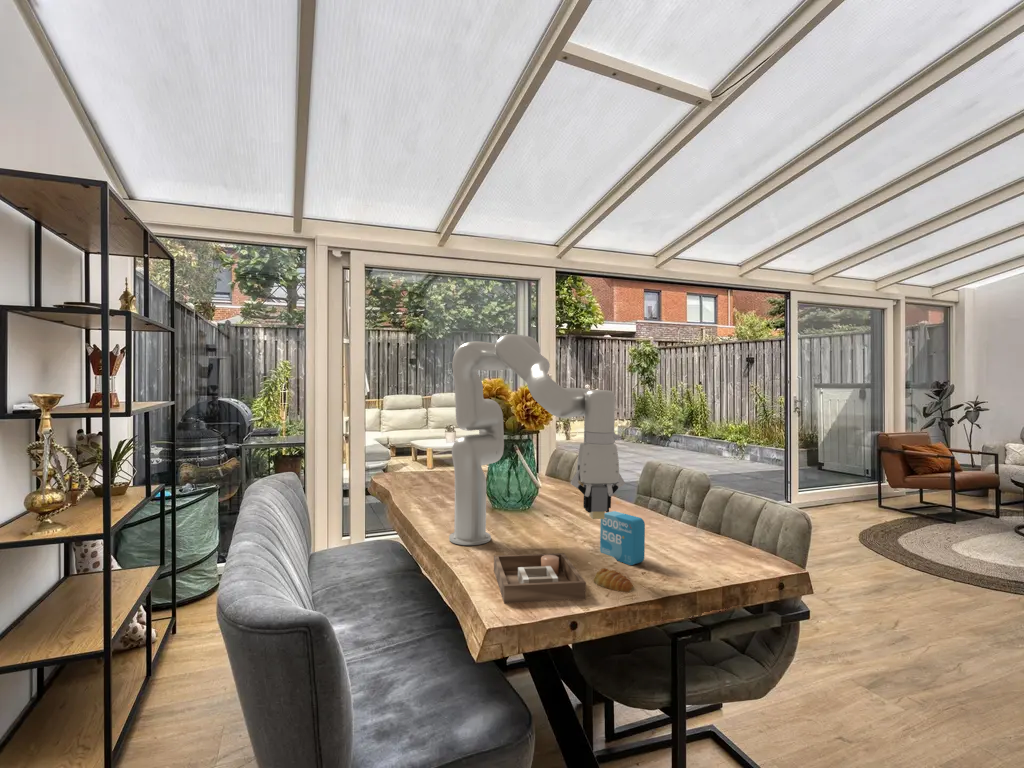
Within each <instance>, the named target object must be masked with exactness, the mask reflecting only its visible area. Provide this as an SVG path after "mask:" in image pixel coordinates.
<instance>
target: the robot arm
mask: <svg viewBox="0 0 1024 768" xmlns="http://www.w3.org/2000/svg"><path fill="white" fill-rule="evenodd" d="M451 366H452V373H453V374H452V375H453V381H454V401H455V420H456V425H457V427H458V428H459V429H461V430H462V431H468V432H469V431H470V432H471V431H478V432H479V433H478V434H468V435H464V436H461V437H459V438H458V439H456V440H455V441H454V443H453V445H452V447H451V458H452V464H453V469H454V470H453V472H454V531H453V532H452V533H450V534H449V535H448V536H449V537H448V539H449V542H451V543H452V544H455V545H458V546H459V545H460V546H478V545H484V544H487V543H489V542H490V541H491V539H492V536H491V534H490V533H489V532H487V479H486V475H485V473H484V470H483V467H482V466H485V465H490V464H491V465H492V464H494V463H497V462H498V461H500V460H501V458H502V457H503V455H504V450H505V437H504V435H505V434H504V432H505V431H504V415H503V411H502V408H501V406H500V404H499V403H498V402H497V401H495V400H494V399H490V398H485V397H484V385H483V382H482V379H481V376H480V375H479V374H478V371H493V372H494V371H496V372H498V371H507V370H510V369H511V370H512V371H513V372H514V373H515V374H516V375H517V376H518V377H519V378H521V379H522V380H523V381H524V382H525V383H526V384H527V385H526V386H527V389H528V391H529V393H530V395H531V397H532V399H533V400H534V401H535V402H537V403H538V404H539V406H541V407H542V408H543V409H544V410H545V411H547V412H548V413H549V414H550V415H552V416H554V417H556V418H563V419H564V418H575V417H584V419H583V420H584V421H583V422H584V427H583V442H581V443H580V445H579V449H578V454H577V455H578V456H577V463H576V471H575V472H576V473H575V474H574V476H573V478H572V479H571V481H570V484H571V485H572V486H573V487H574V488H576V489H577V490H579V491H580V492H581V493H582V495H583V505H582V507H583V509H585V511H586V512H587V513H590V512H591V496H590V491H591V486H592V484H603V485H605V486H606V487H608V499H607V511H605V513H608V512H610V509H611V507H612V497H613V496H614V494H615V493H616V492H617V490H619V488H621V487H623V486H624V485H625V484H626V483H625V480H624V479H623V477H622V475H621V474H620V465H619V462H620V461H619V453H618V448H617V447H618V446H617V444H615V443H616V442H615V441H616V440H617V441H618V440H620V434H618V433H617V434H616V432H615V422H616V421H615V420H616V417H615V416H616V395H615V393H614V391H612V390H609V389H607V390H605V389H588V388H582V387H562V386H561V385H559V384H558V383H557V382H556V381H555V380H554V379H552V378H551V377H550V376H549V375H548V373H549V371H550V368H551V367H550V361H549V360H548V359H547V358H546V357H544V356H543V355H542V354H541V348H540V345H539V342H537V341H536V339H535V338H533V337H532V336H529V335H525V334H524V335H522V334H515V333H510V334H509V333H508V334H505V335H502V336H501V337H500V338H498V339H497V341H496V342H487V341H478V340H477V341H473V340H472V341H468V342H465V343H463V344H461V345H460V346H459V347H458V348H457V349H456V350H455V352H454V355H453V357H452V365H451ZM579 482H580V483H579ZM581 483H582V484H583V485H582V484H581Z"/></svg>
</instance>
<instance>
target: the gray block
mask: <svg viewBox="0 0 1024 768" xmlns="http://www.w3.org/2000/svg"><path fill="white" fill-rule="evenodd" d="M590 496H591V512H590V513H589V517H590V518H591V519H592V520H601V519H604V514H605V513H606V512H605V511H607V499H608V487H606V486H605V485H604V484H592V486H591V491H590Z"/></svg>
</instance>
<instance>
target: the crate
mask: <svg viewBox="0 0 1024 768" xmlns="http://www.w3.org/2000/svg"><path fill="white" fill-rule="evenodd" d="M544 555H555V556H558V557H559V575H558V576H557V575H556V574H555V572H554V571H553V569H552V567H551V566H541V557H542V556H544ZM493 572H494V575H495V579H496V582H497V584H498V588H499V592H500V594H501V595H500V596H501V598H502V601H503V604H519V603H520V604H521V603H539V602H540V603H541V602H543V603H544V602H559V601H560V602H561V601H563V602H564V601H566V602H567V601H582V600H584V601H585V600H586V597H587V596H586V592H587V591H586V589H587V585H586V584H587V583H586V581H585V580H584V578H583V577H582V576H581V574H580V572H579V571H578V570H577V568H575V566H574V565H573V563H572V562H571V560H570V559H569V557H568V556H567V555H566V554H565V553H563V552H562V553H561V552H560V553H559V552H558V553H554V552H553V553H534V554H532V553H531V554H503V555H500V554H499V555H498V554H497V555H493Z"/></svg>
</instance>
